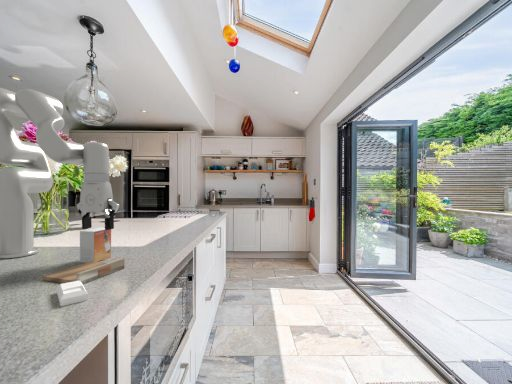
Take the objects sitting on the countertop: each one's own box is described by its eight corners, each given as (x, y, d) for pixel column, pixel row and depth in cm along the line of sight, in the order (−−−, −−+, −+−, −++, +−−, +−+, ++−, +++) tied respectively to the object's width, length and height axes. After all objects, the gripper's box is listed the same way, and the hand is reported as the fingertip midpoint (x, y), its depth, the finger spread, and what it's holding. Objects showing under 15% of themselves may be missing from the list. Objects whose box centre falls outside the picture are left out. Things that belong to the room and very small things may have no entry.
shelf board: (42, 279, 70) (42, 268, 70) (91, 264, 85) (91, 254, 85) (80, 285, 67) (80, 274, 67) (124, 268, 81) (125, 258, 81)
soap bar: (81, 289, 66) (81, 278, 65) (88, 301, 59) (87, 290, 59) (56, 294, 62) (56, 283, 62) (60, 308, 56) (60, 295, 55)
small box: (93, 263, 85) (93, 231, 85) (79, 262, 87) (79, 230, 86) (111, 257, 93) (111, 227, 93) (98, 256, 94) (98, 227, 94)
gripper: (66, 179, 88) (68, 229, 88) (108, 178, 83) (109, 231, 84) (86, 179, 95) (87, 226, 96) (125, 178, 91) (127, 227, 91)
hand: (98, 228), depth 90 cm, fingers open, 9 cm apart
